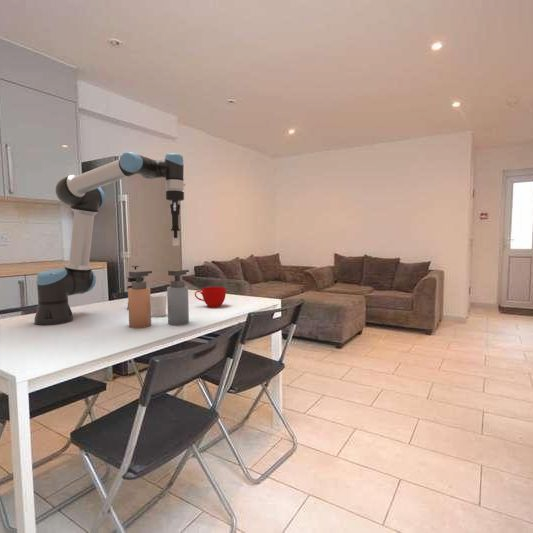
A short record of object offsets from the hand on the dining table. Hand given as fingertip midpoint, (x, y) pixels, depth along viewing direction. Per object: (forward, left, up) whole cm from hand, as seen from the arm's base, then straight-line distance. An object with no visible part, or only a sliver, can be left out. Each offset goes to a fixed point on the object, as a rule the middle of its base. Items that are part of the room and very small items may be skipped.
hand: (175, 245), depth 156 cm
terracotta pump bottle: (-12, +10, -34) cm, 38 cm away
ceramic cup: (+37, +14, -35) cm, 53 cm away
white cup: (+6, +20, -35) cm, 40 cm away
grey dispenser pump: (-10, +10, -18) cm, 23 cm away
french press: (+12, +44, -34) cm, 57 cm away
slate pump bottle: (0, 0, -34) cm, 34 cm away
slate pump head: (+2, 0, -18) cm, 18 cm away
